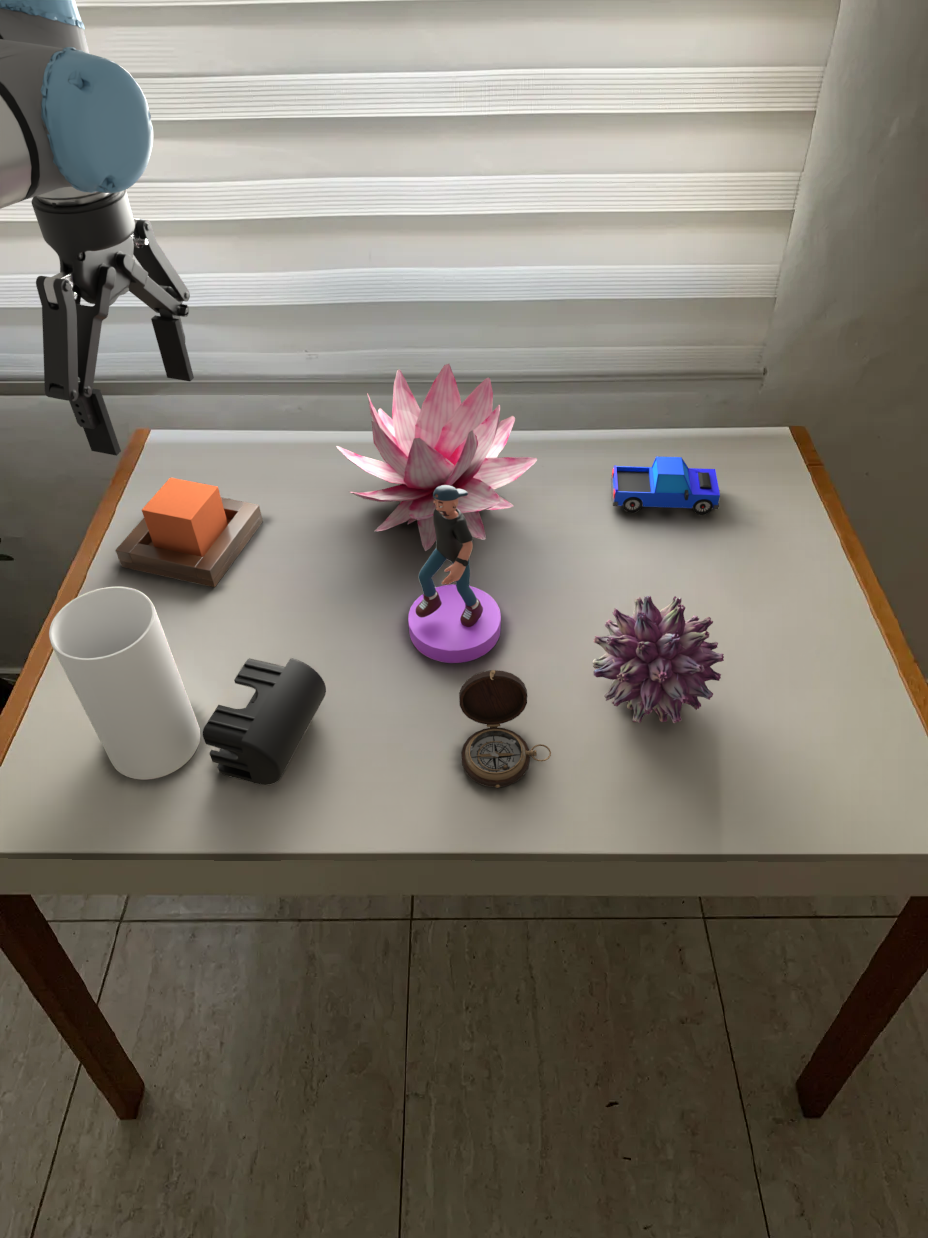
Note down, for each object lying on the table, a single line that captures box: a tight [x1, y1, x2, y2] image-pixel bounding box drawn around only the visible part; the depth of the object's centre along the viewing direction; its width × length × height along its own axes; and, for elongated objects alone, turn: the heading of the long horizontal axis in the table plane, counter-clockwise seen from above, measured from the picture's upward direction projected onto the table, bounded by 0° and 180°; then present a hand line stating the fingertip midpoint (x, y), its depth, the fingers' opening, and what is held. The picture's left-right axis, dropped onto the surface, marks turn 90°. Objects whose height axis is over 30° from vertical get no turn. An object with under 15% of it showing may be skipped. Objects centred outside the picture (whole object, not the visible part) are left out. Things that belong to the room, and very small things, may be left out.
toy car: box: [610, 456, 721, 516], centre depth 105 cm, size 7×12×5 cm, turn 86°
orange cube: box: [141, 477, 228, 557], centre depth 101 cm, size 6×6×6 cm
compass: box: [458, 669, 552, 789], centre depth 80 cm, size 8×8×7 cm
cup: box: [48, 586, 201, 781], centre depth 78 cm, size 8×8×16 cm
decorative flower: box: [335, 363, 538, 552], centre depth 101 cm, size 21×21×15 cm
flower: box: [592, 595, 725, 724], centre depth 82 cm, size 12×12×12 cm
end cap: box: [202, 657, 327, 786], centre depth 81 cm, size 10×7×7 cm
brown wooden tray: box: [115, 496, 264, 588], centre depth 102 cm, size 12×12×2 cm
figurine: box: [407, 485, 502, 664], centre depth 87 cm, size 9×9×18 cm
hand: (145, 412), depth 90 cm, fingers open, 13 cm apart
